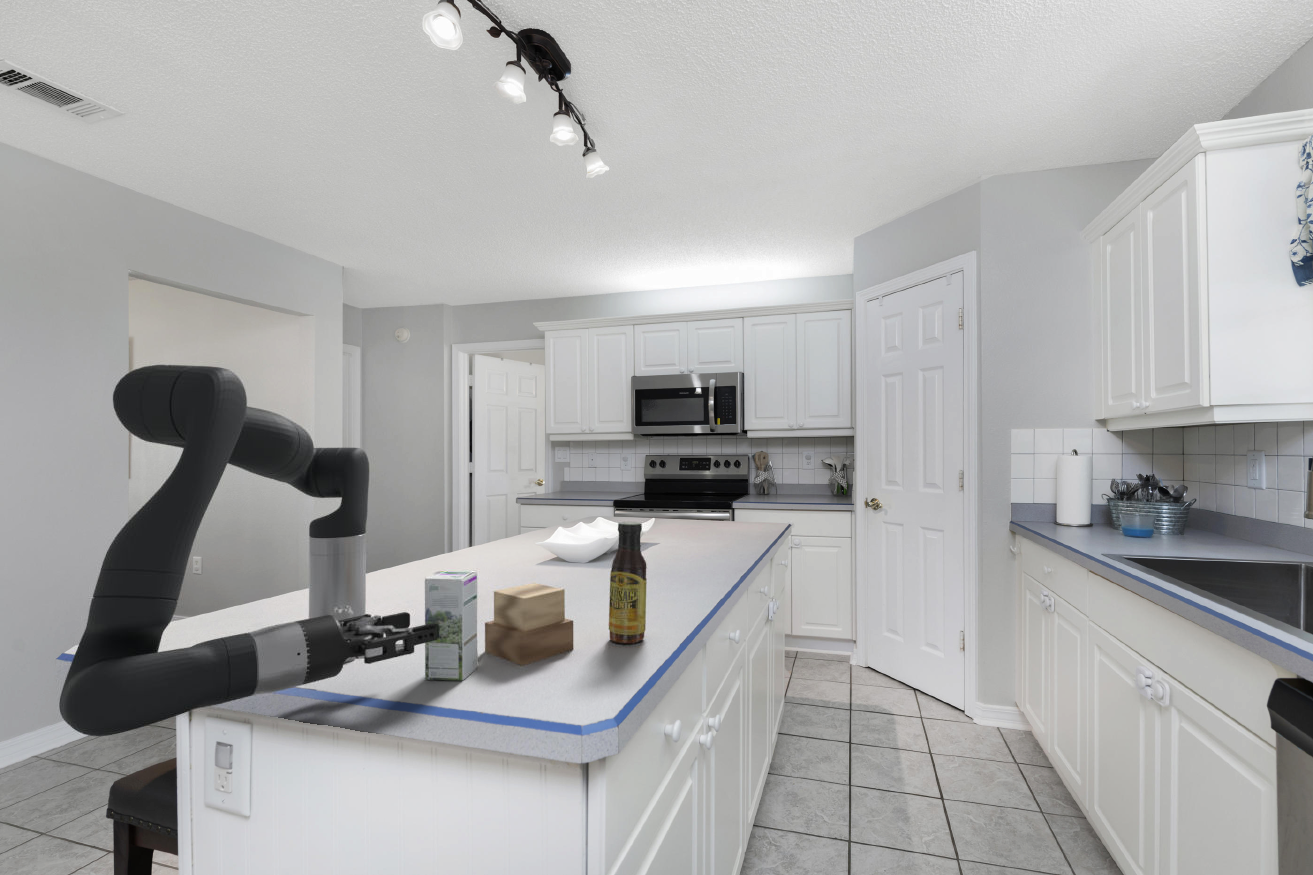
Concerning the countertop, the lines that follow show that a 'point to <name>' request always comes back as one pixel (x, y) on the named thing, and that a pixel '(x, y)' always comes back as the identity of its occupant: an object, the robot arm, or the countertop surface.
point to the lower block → (528, 641)
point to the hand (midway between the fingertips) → (422, 624)
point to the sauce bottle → (628, 587)
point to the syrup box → (451, 624)
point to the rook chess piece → (342, 615)
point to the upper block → (529, 606)
